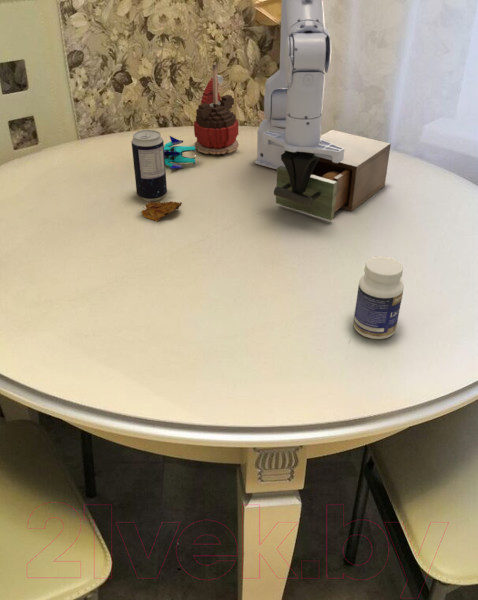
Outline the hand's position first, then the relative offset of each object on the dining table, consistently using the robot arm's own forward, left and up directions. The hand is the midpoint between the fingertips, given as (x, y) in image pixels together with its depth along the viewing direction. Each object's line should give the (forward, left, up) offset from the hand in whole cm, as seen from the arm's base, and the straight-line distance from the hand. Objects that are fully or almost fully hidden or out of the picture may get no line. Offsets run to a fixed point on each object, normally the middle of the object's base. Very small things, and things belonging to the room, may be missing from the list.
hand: (299, 192), depth 106 cm
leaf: (-21, -12, -5) cm, 25 cm away
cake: (-32, +18, -5) cm, 37 cm away
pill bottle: (+25, -20, -5) cm, 33 cm away
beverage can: (-27, -8, -5) cm, 29 cm away
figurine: (-34, +4, -5) cm, 35 cm away
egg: (+2, +5, -1) cm, 6 cm away
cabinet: (0, +15, -5) cm, 16 cm away
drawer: (0, +6, -4) cm, 7 cm away
